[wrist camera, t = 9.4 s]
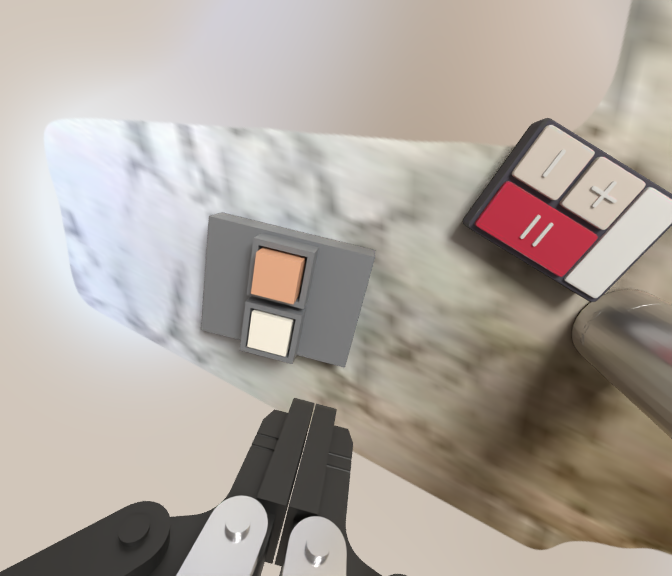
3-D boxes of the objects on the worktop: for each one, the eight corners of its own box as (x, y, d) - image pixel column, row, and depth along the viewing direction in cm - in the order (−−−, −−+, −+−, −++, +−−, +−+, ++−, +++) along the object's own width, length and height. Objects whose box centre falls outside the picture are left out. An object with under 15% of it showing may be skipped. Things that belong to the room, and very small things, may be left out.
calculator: (550, 113, 27) (700, 206, 27) (530, 121, 31) (660, 203, 31) (467, 227, 31) (599, 307, 31) (458, 221, 35) (575, 292, 35)
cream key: (297, 312, 36) (291, 322, 34) (291, 345, 38) (285, 356, 36) (260, 302, 37) (252, 311, 34) (255, 335, 38) (247, 346, 36)
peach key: (306, 256, 33) (300, 263, 30) (299, 295, 34) (293, 304, 32) (264, 246, 33) (256, 252, 31) (259, 285, 35) (250, 293, 32)
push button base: (375, 250, 36) (374, 263, 31) (347, 353, 41) (342, 380, 36) (221, 212, 37) (196, 219, 32) (212, 319, 42) (189, 340, 37)
